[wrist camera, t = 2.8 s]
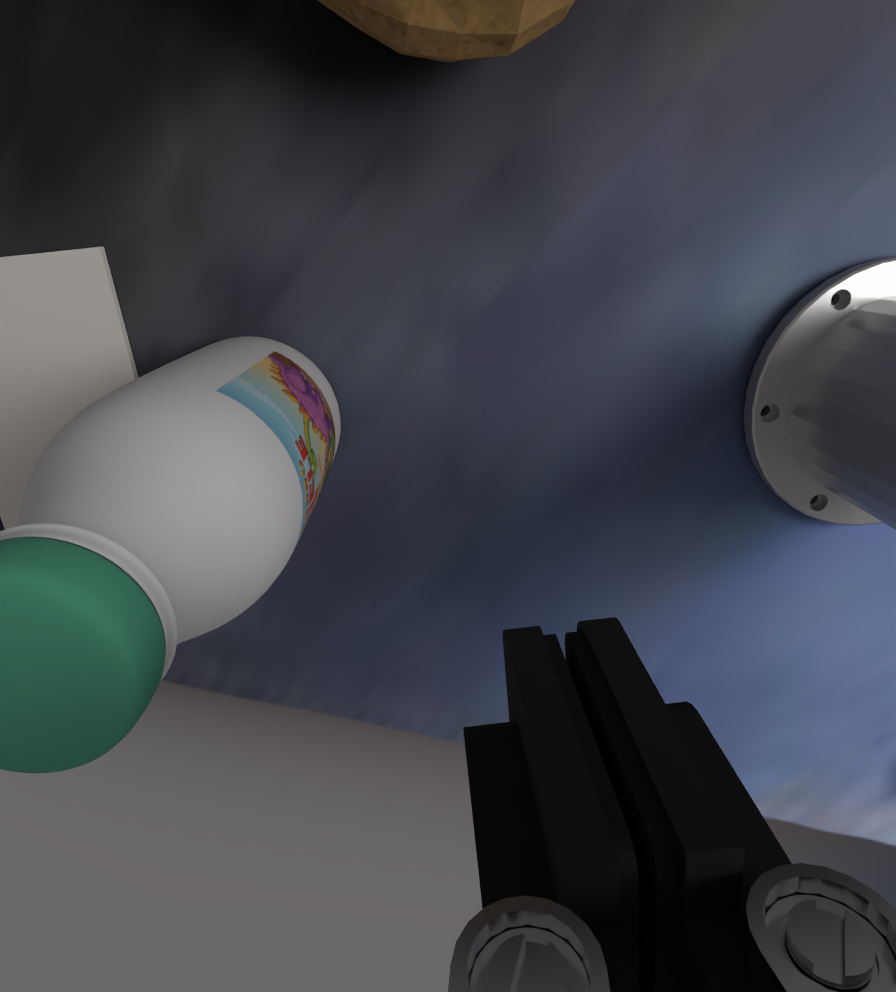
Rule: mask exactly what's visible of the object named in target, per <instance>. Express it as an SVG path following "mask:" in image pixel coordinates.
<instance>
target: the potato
mask: <svg viewBox="0 0 896 992" xmlns="http://www.w3.org/2000/svg"><path fill="white" fill-rule="evenodd" d="M318 1H319V2H321V3H322V4H323V5H325V6H326V7H328V8H329V9H331V10H332V11H333V12H335V13H336V14H338V15H339V16H340V17H342V18H343V19H345V20H346V21H348V22H349V23H350V24H352V25H353V26H355V27H356V28H358V29H359V30H361V31H363V32H364V33H366V34H368V35H369V36H371V37H373V38H374V39H376V40H378V41H379V42H381V43H383V44H384V45H386V46H388V47H389V48H391V49H393V50H394V51H396V52H398V53H399V54H403V55H408V56H414V57H420V58H425V59H431V60H437V61H443V62H448V63H449V62H456V61H463V60H471V59H478V58H486V57H495V56H507V55H510V54H512V53H513V52H515V51H516V50H518V49H519V48H521V47H523V46H524V45H526V44H527V43H529V42H530V41H532V40H534V39H535V38H537V37H538V36H540V35H541V34H543V33H544V32H546V31H548V30H549V29H551V28H552V27H554V26H555V25H557V24H559V23H560V22H561V21H562V20H563V18H564V17H565V15H566V13H567V12H568V10H569V9H570V7H571V6H572V4H573V2H574V1H575V0H318Z"/></svg>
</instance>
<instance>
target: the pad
mask: <svg viewBox="0 0 896 992" xmlns="http://www.w3.org/2000/svg"><path fill="white" fill-rule="evenodd" d="M137 378H139V377H138V374H137V370H136V366H135V362H134V359H133V355H132V351H131V347H130V344H129V340H128V336H127V332H126V329H125V325H124V321H123V317H122V314H121V310H120V306H119V302H118V299H117V295H116V291H115V287H114V284H113V280H112V276H111V272H110V269H109V265H108V261H107V257H106V254H105V250H104V247H95V248H85V249H76V250H66V251H57V252H47V253H38V254H28V255H19V256H9V257H0V517H1V520H2V523H3V526H4V528H5V529H8V528H11V527H15V526H16V524H17V521H18V516H19V512H20V507H21V501H22V498H23V495H24V491H25V488H26V484H27V481H28V479H29V477H30V474H31V472H32V470H33V468H34V466H35V464H36V462H37V460H38V459H39V457H40V455H41V454H42V452H43V450H44V449H45V448H46V447H47V445H48V444H49V443H50V441H51V440H52V439H53V438H54V436H55V435H56V434H57V433H58V432H59V431H60V430H61V429H62V428H63V426H64V425H65V424H67V423H68V422H69V421H70V420H71V419H72V418H74V417H75V416H76V415H77V414H78V413H80V412H81V411H82V410H83V409H85V408H86V407H87V406H89V405H90V404H92V403H93V402H95V401H97V400H98V399H100V398H102V397H104V396H105V395H107V394H109V393H110V392H112V391H114V390H116V389H117V388H119V387H121V386H123V385H125V384H127V383H129V382H131V381H133V380H135V379H137Z"/></svg>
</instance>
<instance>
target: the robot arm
mask: <svg viewBox="0 0 896 992" xmlns="http://www.w3.org/2000/svg"><path fill="white" fill-rule="evenodd" d="M832 296H834V298H833V301H832V302H831V299H832ZM764 407H765V410H764V411H763V412H762V413H761V411H762V409H763V408H764ZM744 428H745V440H746V443H747V447H748V450H749V453H750V457H751V460H752V462H753V464H754V466H755V468H756V469H757V471H758V473H759V475H760V476H761V478H762V480H763V481H764V482H765V483H766V484H767V485H768V487H769V488H770V489H771V490H772V491H773V492H774V493H775V494H776V495H777V496H778V497H780V498H781V499H783V500H784V501H785V502H787V503H788V504H789V505H791V506H792V507H793V508H795V509H797V510H798V511H800V512H802V513H804V514H806V515H807V516H810V517H812V518H815V519H819V520H822V521H826V522H830V523H833V524H843V525H857V526H858V525H867V524H877V523H883V522H884V523H885V524H887V525H889V526H890V527H892V528H894V529H895V530H896V256H892V257H882V258H878V259H875V260H872V261H868V262H865V263H862V264H859V265H855V266H853V267H851V268H849V269H847V270H845V271H843V272H841V273H839V274H837V275H835V276H833V277H831V278H829V279H827V280H826V281H825V282H823V283H822V284H821V285H819V286H818V287H816V288H815V289H814V290H812V291H811V292H810V293H808V294H807V295H806V296H804V297H803V298H802V299H801V300H800V301H799V302H798V303H797V304H796V305H795V306H794V307H793V308H792V309H791V310H790V311H789V312H788V313H787V314H786V315H785V316H784V317H783V319H782V320H781V321H780V323H779V324H778V326H777V327H776V328H775V330H774V331H773V333H772V334H771V335H770V337H769V338H768V340H767V341H766V343H765V345H764V347H763V349H762V351H761V353H760V355H759V357H758V359H757V361H756V363H755V365H754V368H753V371H752V374H751V378H750V381H749V384H748V388H747V391H746V399H745V408H744ZM503 646H504V658H505V671H506V683H507V696H508V708H509V721H510V722H505V723H497V724H488V725H479V726H470V727H463V729H464V739H465V748H466V758H467V767H468V776H469V785H470V794H471V804H472V814H473V823H474V832H475V842H476V851H477V860H478V870H479V879H480V889H481V897H482V907H483V909H482V910H481V911H480V912H479V913H478V914H477V915H476V916H474V917H473V918H472V919H471V920H470V921H469V922H468V923H467V925H466V926H465V928H464V930H463V931H462V933H461V935H460V936H459V938H458V940H457V941H456V945H455V949H454V954H453V957H452V961H451V966H450V977H449V989H448V992H896V909H895V908H894V907H893V906H892V905H891V904H889V903H888V902H887V901H886V900H885V899H884V898H883V897H882V896H881V895H880V894H878V893H877V892H876V891H875V890H873V889H871V888H870V887H868V886H866V885H865V884H863V883H862V882H860V881H858V880H857V879H855V878H853V877H852V876H849V875H846V874H844V873H841V872H838V871H836V870H833V869H831V868H828V867H824V866H818V865H811V864H804V863H796V864H792V863H791V862H790V860H789V859H788V857H787V855H786V854H785V852H784V850H783V849H782V847H781V845H780V844H779V842H778V841H777V839H776V837H775V836H774V834H773V832H772V831H771V829H770V828H769V826H768V824H767V823H766V821H765V820H764V818H763V816H762V815H761V813H760V811H759V810H758V808H757V807H756V805H755V803H754V802H753V800H752V798H751V797H750V795H749V794H748V792H747V790H746V789H745V787H744V786H743V784H742V782H741V781H740V779H739V777H738V776H737V774H736V773H735V771H734V769H733V768H732V766H731V764H730V763H729V761H728V760H727V758H726V756H725V755H724V753H723V752H722V750H721V748H720V747H719V745H718V743H717V742H716V740H715V739H714V737H713V735H712V734H711V732H710V730H709V729H708V727H707V726H706V724H705V722H704V721H703V719H702V718H701V716H700V714H699V713H698V711H697V710H696V709H695V707H694V706H693V705H692V704H690V703H689V702H679V703H670V704H665V703H664V701H663V699H662V697H661V695H660V694H659V692H658V690H657V688H656V686H655V685H654V683H653V681H652V679H651V677H650V676H649V674H648V672H647V670H646V668H645V667H644V665H643V663H642V661H641V660H640V658H639V656H638V654H637V652H636V651H635V649H634V647H633V645H632V643H631V642H630V640H629V638H628V636H627V634H626V633H625V631H624V629H623V627H622V625H621V624H620V622H619V620H618V619H617V618H615V617H614V618H605V619H596V620H587V621H579V622H578V624H577V632H569V633H566V634H565V655H566V660H565V658H564V655H563V652H562V650H561V647H560V644H559V641H558V639H557V636H556V635H555V634H551V635H543V633H542V630H541V628H540V626H534V627H525V628H516V629H508V630H503Z"/></svg>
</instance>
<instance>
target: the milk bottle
mask: <svg viewBox="0 0 896 992" xmlns="http://www.w3.org/2000/svg"><path fill="white" fill-rule="evenodd" d="M340 431H341V421H340V412H339V407H338V403H337V400H336V397H335V395H334V392H333V390H332V388H331V386H330V384H329V382H328V381H327V379H326V378H325V376H324V375H323V374H322V372H321V371H320V370H319V369H318V368H317V367H316V366H315V364H314V363H313V362H311V361H310V360H309V359H308V358H307V357H306V356H304V355H303V354H301V353H300V352H299V351H297V350H295V349H294V348H292V347H290V346H288V345H286V344H283V343H281V342H278V341H275V340H271V339H268V338H262V337H253V336H243V337H234V338H229V339H225V340H222V341H219V342H216V343H213V344H210V345H208V346H206V347H203V348H201V349H199V350H197V351H194V352H192V353H190V354H188V355H186V356H183V357H181V358H179V359H177V360H175V361H173V362H170V363H168V364H166V365H164V366H162V367H160V368H158V369H156V370H154V371H152V372H149V373H147V374H145V375H143V376H141V377H139V378H137V379H135V380H133V381H131V382H129V383H127V384H125V385H123V386H121V387H119V388H117V389H116V390H114V391H112V392H110V393H109V394H107V395H105V396H104V397H102V398H100V399H98V400H97V401H95V402H93V403H92V404H90V405H89V406H87V407H86V408H85V409H83V410H82V411H81V412H80V413H78V414H77V415H76V416H75V417H74V418H72V419H71V420H70V421H69V422H68V423H67V424H65V425H64V426H63V428H62V429H61V430H60V431H59V432H58V433H57V434H56V435H55V436H54V438H53V439H52V440H51V441H50V443H49V444H48V445H47V447H46V448H45V449H44V450H43V452H42V454H41V455H40V457H39V459H38V460H37V462H36V464H35V466H34V468H33V470H32V472H31V474H30V477H29V479H28V481H27V484H26V488H25V491H24V495H23V498H22V501H21V507H20V512H19V516H18V521H17V524H16V526H15V527H11V528H8V529H5V530H2V531H0V769H3V770H9V771H15V772H24V773H50V772H57V771H63V770H68V769H72V768H75V767H79V766H82V765H84V764H86V763H89V762H91V761H93V760H95V759H97V758H99V757H100V756H102V755H103V754H105V753H106V752H108V751H109V750H110V749H111V748H112V747H114V746H115V745H116V744H117V743H118V742H120V741H121V740H122V739H123V738H124V737H125V736H126V735H127V734H128V733H129V732H130V730H131V729H132V728H133V726H134V725H135V724H136V722H137V721H138V719H139V718H140V716H141V715H142V713H143V712H144V711H145V709H146V707H147V706H148V704H149V702H150V700H151V698H152V696H153V695H154V693H155V690H156V689H157V687H158V685H159V682H160V681H161V680H162V679H163V677H164V676H165V675H166V673H167V671H168V670H169V668H170V666H171V664H172V661H173V659H174V656H175V652H176V647H177V645H178V644H179V643H181V642H184V641H186V640H189V639H192V638H195V637H198V636H200V635H202V634H205V633H207V632H209V631H212V630H214V629H216V628H218V627H220V626H222V625H224V624H226V623H227V622H229V621H230V620H232V619H234V618H235V617H237V616H238V615H240V614H241V613H242V612H244V611H245V610H246V609H248V608H249V607H250V606H251V605H252V604H253V603H254V602H256V601H257V600H258V599H259V598H260V597H261V596H262V595H263V594H264V593H265V592H266V591H267V590H268V589H269V587H270V586H271V585H272V583H273V582H274V581H275V580H276V578H277V577H278V576H279V574H280V573H281V572H282V570H283V569H284V567H285V566H286V564H287V562H288V560H289V559H290V557H291V555H292V553H293V551H294V549H295V547H296V545H297V543H298V541H299V540H300V537H301V535H302V533H303V531H304V529H305V526H306V524H307V522H308V520H309V517H310V515H311V513H312V510H313V508H314V506H315V504H316V501H317V499H318V497H319V494H320V492H321V489H322V487H323V484H324V482H325V480H326V477H327V475H328V472H329V470H330V467H331V465H332V462H333V460H334V457H335V454H336V451H337V447H338V443H339V439H340Z"/></svg>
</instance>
